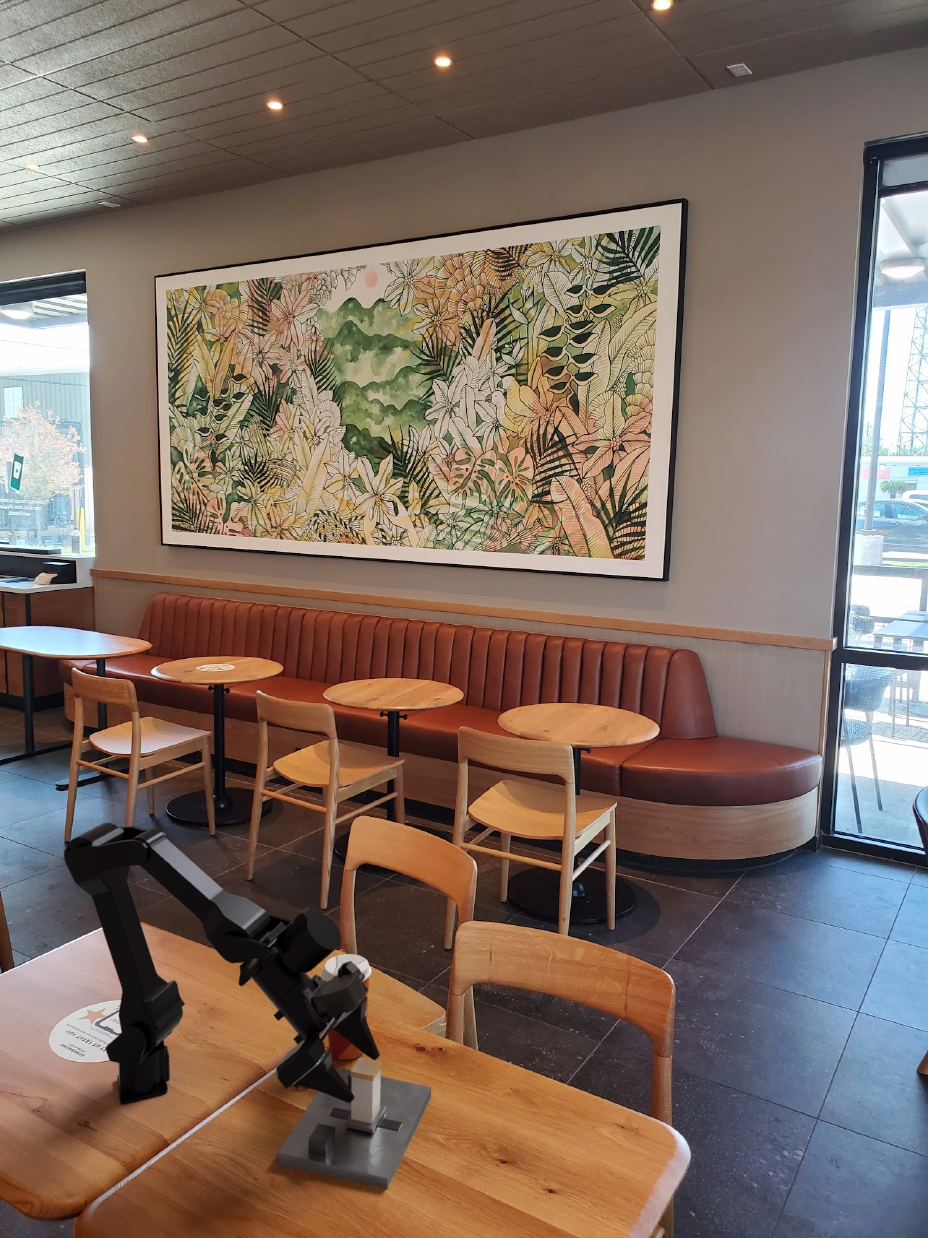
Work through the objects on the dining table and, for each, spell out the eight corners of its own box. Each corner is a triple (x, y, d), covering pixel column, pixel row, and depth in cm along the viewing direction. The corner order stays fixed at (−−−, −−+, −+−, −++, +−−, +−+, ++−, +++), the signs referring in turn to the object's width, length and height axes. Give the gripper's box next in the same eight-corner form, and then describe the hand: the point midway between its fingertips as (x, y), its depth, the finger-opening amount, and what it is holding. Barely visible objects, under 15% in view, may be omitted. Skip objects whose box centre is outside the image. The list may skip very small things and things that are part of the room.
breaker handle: (344, 1126, 117) (345, 1075, 116) (358, 1102, 122) (359, 1052, 121) (372, 1133, 116) (373, 1081, 115) (386, 1108, 121) (386, 1058, 120)
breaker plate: (277, 1166, 113) (277, 1138, 113) (334, 1079, 130) (334, 1054, 130) (387, 1193, 109) (387, 1164, 109) (430, 1100, 126) (431, 1074, 126)
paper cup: (363, 1067, 133) (362, 979, 131) (315, 1061, 134) (313, 974, 133) (378, 1037, 141) (377, 954, 139) (332, 1032, 142) (331, 949, 141)
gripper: (297, 992, 109) (380, 1092, 107) (355, 924, 127) (427, 1008, 125) (241, 1040, 112) (321, 1137, 110) (305, 967, 130) (375, 1050, 128)
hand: (365, 1078), depth 119 cm, fingers open, 9 cm apart
